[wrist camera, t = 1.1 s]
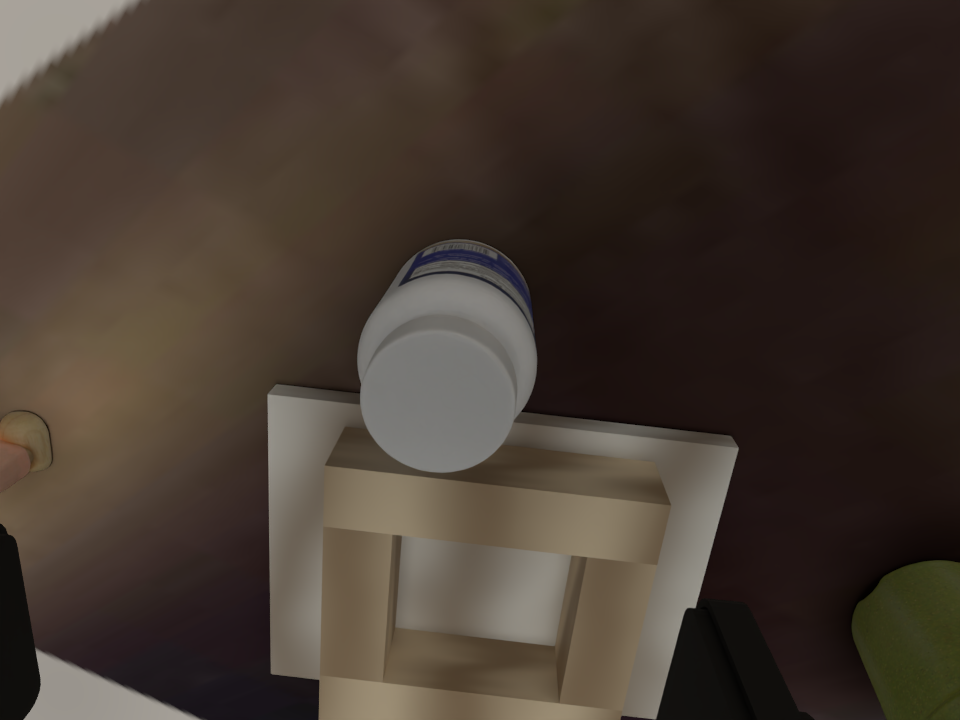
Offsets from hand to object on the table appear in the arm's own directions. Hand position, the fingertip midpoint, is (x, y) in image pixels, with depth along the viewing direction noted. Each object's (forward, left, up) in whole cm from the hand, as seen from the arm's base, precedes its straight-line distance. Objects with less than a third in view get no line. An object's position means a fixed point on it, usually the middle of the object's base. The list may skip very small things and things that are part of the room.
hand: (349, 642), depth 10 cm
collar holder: (-2, +11, -17) cm, 20 cm away
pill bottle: (0, 0, -17) cm, 17 cm away
